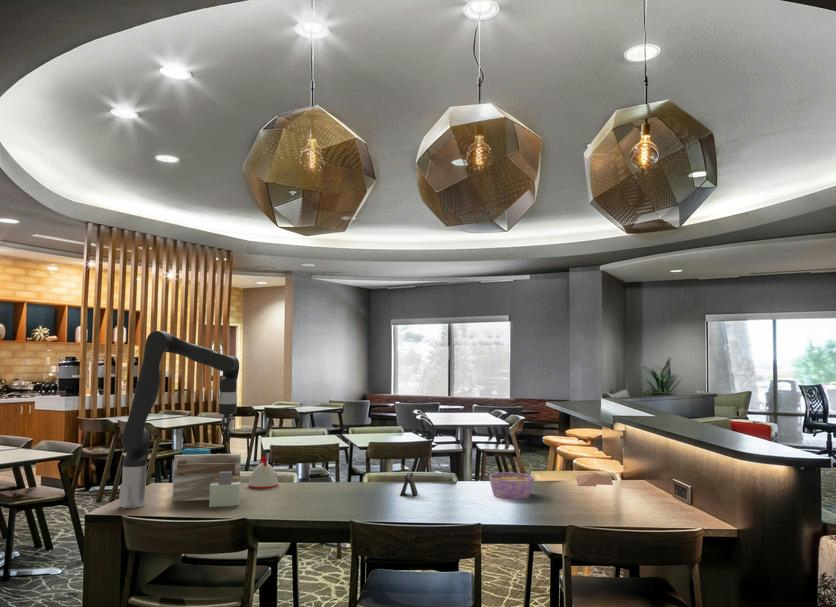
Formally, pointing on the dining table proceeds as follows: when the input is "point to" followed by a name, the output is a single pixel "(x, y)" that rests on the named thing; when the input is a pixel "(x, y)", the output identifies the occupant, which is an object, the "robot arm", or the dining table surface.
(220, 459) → the grey brown rectangular box
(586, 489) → the dining table surface
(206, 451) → the block
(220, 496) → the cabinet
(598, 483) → the house
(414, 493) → the dark grey angled piece
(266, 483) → the kitchen timer
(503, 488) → the bowl of food
